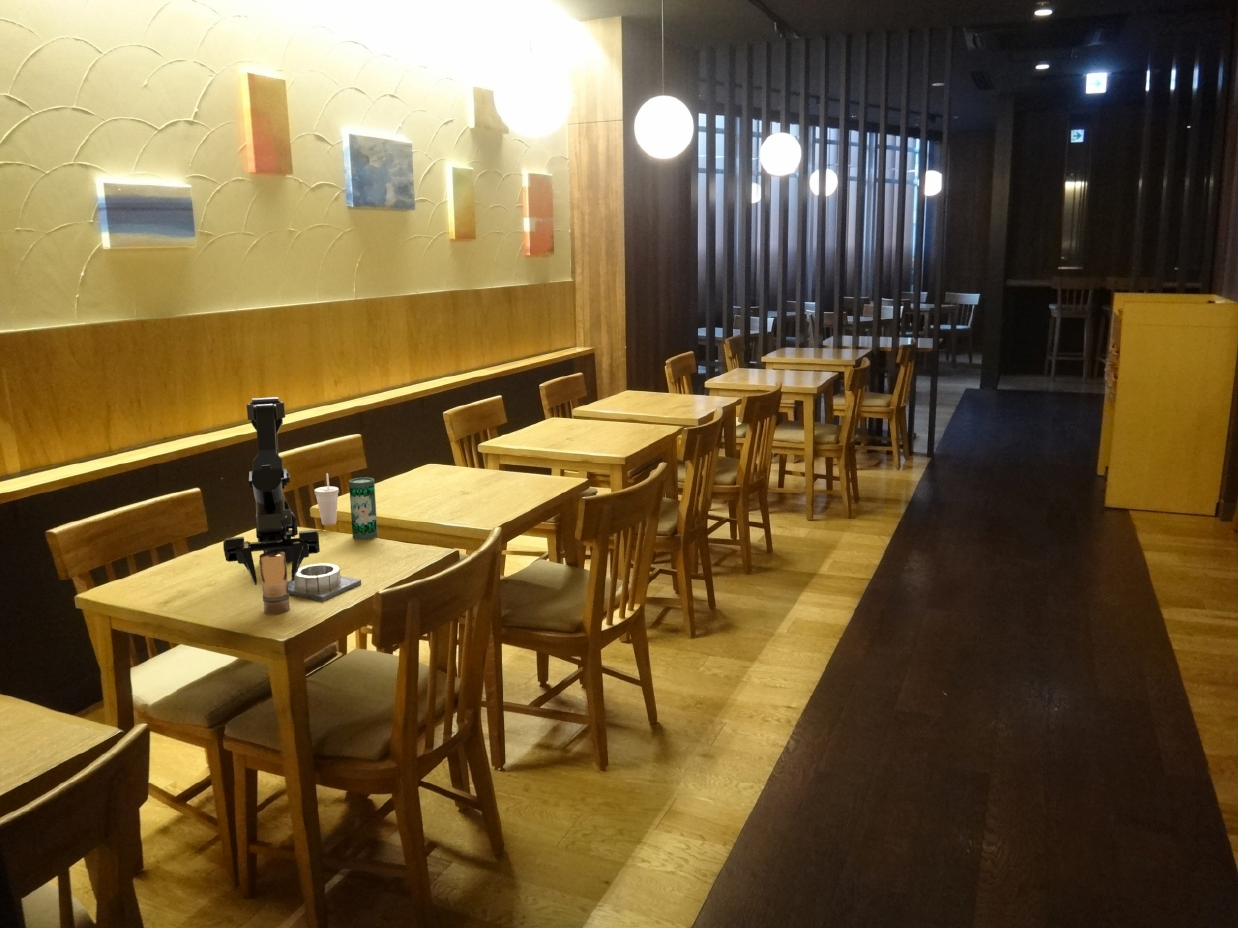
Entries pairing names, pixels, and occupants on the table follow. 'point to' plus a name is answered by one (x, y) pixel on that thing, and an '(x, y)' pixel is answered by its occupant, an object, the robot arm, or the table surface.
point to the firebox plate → (326, 592)
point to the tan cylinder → (274, 582)
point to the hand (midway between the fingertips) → (274, 582)
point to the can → (363, 508)
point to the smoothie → (327, 503)
